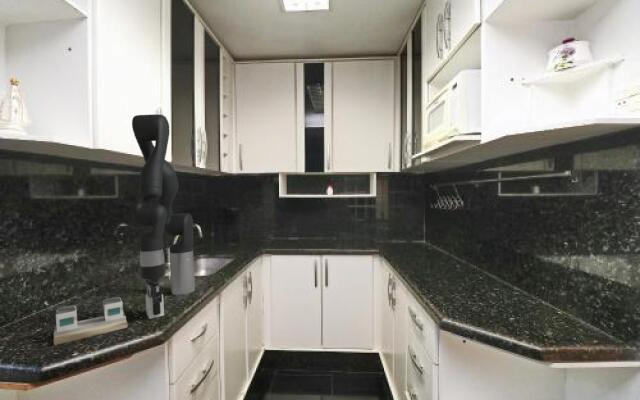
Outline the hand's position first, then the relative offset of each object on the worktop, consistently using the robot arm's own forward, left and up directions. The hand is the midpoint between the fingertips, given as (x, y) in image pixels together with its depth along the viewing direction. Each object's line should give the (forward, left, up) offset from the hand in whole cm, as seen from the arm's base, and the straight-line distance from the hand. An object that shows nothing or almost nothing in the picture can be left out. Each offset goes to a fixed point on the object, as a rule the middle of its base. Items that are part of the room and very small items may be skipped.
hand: (155, 311), depth 114 cm
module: (0, 0, -1) cm, 1 cm away
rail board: (0, -18, -1) cm, 18 cm away
